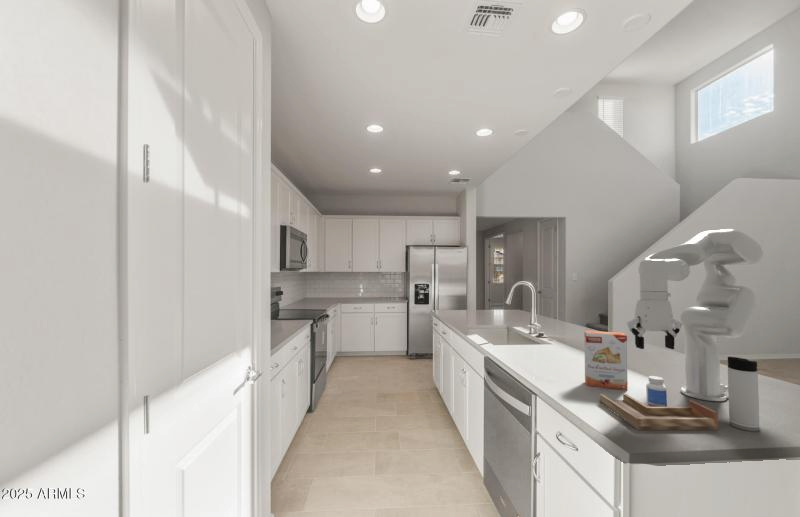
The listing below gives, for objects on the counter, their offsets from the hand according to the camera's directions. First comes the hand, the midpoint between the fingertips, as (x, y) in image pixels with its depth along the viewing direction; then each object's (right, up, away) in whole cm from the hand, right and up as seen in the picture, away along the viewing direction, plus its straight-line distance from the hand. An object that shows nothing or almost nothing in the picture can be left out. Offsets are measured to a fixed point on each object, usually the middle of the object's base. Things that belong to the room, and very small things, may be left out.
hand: (654, 348), depth 117 cm
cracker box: (-4, -20, +21) cm, 29 cm away
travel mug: (+15, -19, -15) cm, 28 cm away
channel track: (-6, -19, -6) cm, 21 cm away
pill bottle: (0, -20, 0) cm, 20 cm away
